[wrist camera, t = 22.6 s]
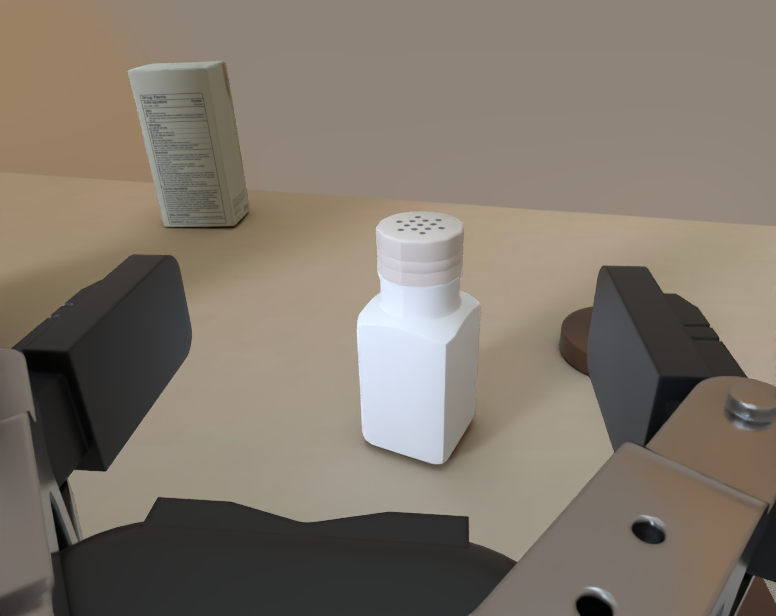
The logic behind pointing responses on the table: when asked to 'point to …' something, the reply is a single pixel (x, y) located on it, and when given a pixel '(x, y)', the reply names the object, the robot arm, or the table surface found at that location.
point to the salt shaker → (419, 340)
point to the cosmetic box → (191, 142)
